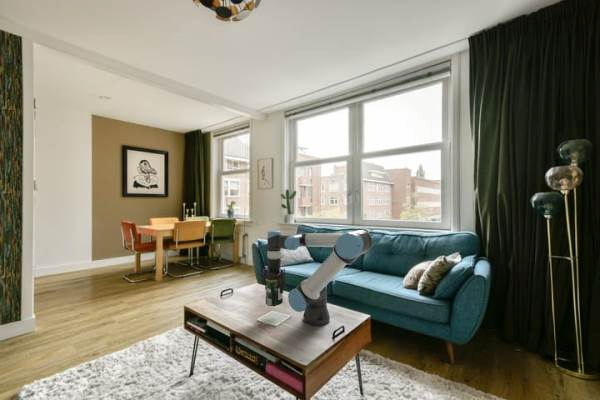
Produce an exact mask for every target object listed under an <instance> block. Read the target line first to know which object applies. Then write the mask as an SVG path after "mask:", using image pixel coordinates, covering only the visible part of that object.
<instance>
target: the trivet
mask: <svg viewBox="0 0 600 400" xmlns="http://www.w3.org/2000/svg"><path fill="white" fill-rule="evenodd" d="M291 318H292V315H288V314H286V313H282V312H278V311H275V310H271V311H269V312H267V313H266V314H263V315H262V316H260V317H259V318H257V319H256V321H257V322H260V323H262V324H266V325H269V326H273V327H275V328H276V327H279V326H280V325H282V324H283V323H285V322H286V321H288V320H289V319H291Z"/></svg>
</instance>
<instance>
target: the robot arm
mask: <svg viewBox="0 0 600 400" xmlns="http://www.w3.org/2000/svg"><path fill="white" fill-rule="evenodd" d="M266 239H267V265H265V266H263V274H262V275H263V276H262V281H261V283H262V284H264V287H265V288H264V290H265V291H266V289H267V283H266V273H269V272H274V274H276V275H278V273H279V274H280V275H281V278H280V277H278V284H279V288H278V300H280V299H282V297H283V294H284V288H285V287H287V280H286V275H285V274H286V273H285V272H286V268H281V264H282V263H281V261H282V258H281V252H282V251H281V250H289V251H296V250H297V249H298V248H301V247H313V248H315V247H318V248H322V247H323V248H332V253H331V254H330V255H329V256H328V257H327V258H326V259H325V260H323V262H322V264H320V266H318V268H317V269H316V270H315V271H314V272H313V273H312V274H311V276H310V277H309V278H306V279H304V280H302V281H301V282H300V283H299V285H297V286H296V287H295V288H292V289H291V290H290V291H289V292H288V296H287V299H288V304H289V307H291V309H292V310H293V311H295V312H297V313H302V312H303V316H302V320H303V322H304V323H305V324H307V325H309V326H310V325H311V326H324V325H327V324H328V323H330V322H331V316H330V313H329V310H328V305H327V303H328V301H327V300H328V298H327V297H328V292H327V291H328V288H327V287H328V286H327V285H328V284H329V283H330V282H331V281H332V280H333V279H334V278H335V277H336V276H337V275H338V274H339V273H340V272H341V271H342V269H344V267H346V265H352V264H353V263H354V262H355V261H356V260H357V259H358V258H359V257H360V256H361V255H364V254H366V253H368V252H369V251H370V250H371V249H372V247H373V243H374V242H373V238H372V235H371V234H370V233H369V232H368V231H366V230H363V229H357V230H353V231H352V230H350V231H346V232H335V233H333V232H329V233H328V232H327V233H325V232H323V233H322V232H320V233H319V232H314V233H308V232H300V233H296V234H290V235H289V234H288V235H285V234H282V232H281V231H280V230H269V231H268V232H267V238H266ZM279 271H280V272H279Z"/></svg>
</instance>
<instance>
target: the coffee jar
mask: <svg viewBox="0 0 600 400" xmlns="http://www.w3.org/2000/svg"><path fill="white" fill-rule="evenodd" d="M268 272H269V271H268ZM279 272H280V271H279ZM278 277H280V278H281V275H280V274H279V273H278V275H276V274H274V272H269V273H266V283H267V289H266V290H265V304H266V305H267V306H268V307H277V306H280V305H281V304H283V302H284V299H283V296H282V299H280V300H278V288H279V284H278Z"/></svg>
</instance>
